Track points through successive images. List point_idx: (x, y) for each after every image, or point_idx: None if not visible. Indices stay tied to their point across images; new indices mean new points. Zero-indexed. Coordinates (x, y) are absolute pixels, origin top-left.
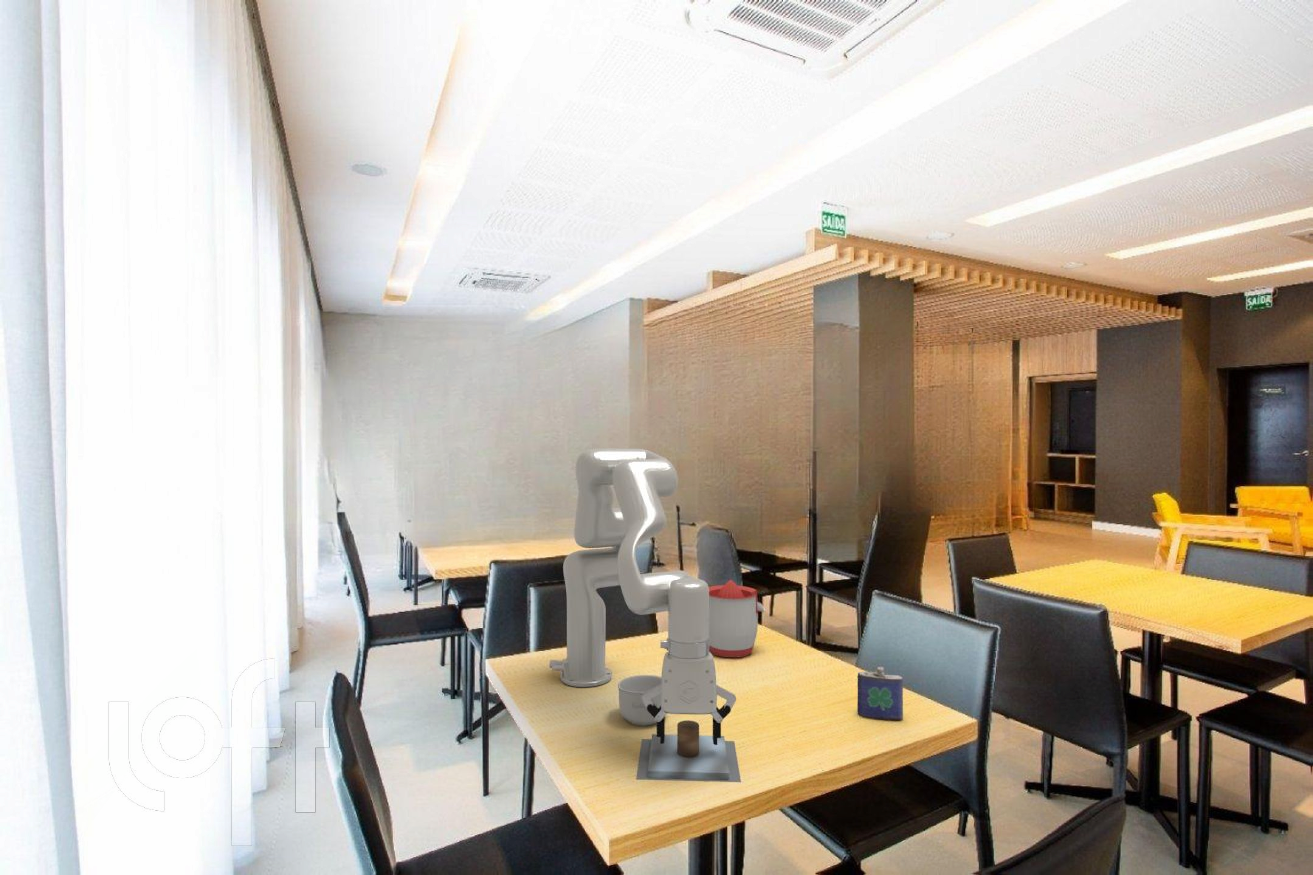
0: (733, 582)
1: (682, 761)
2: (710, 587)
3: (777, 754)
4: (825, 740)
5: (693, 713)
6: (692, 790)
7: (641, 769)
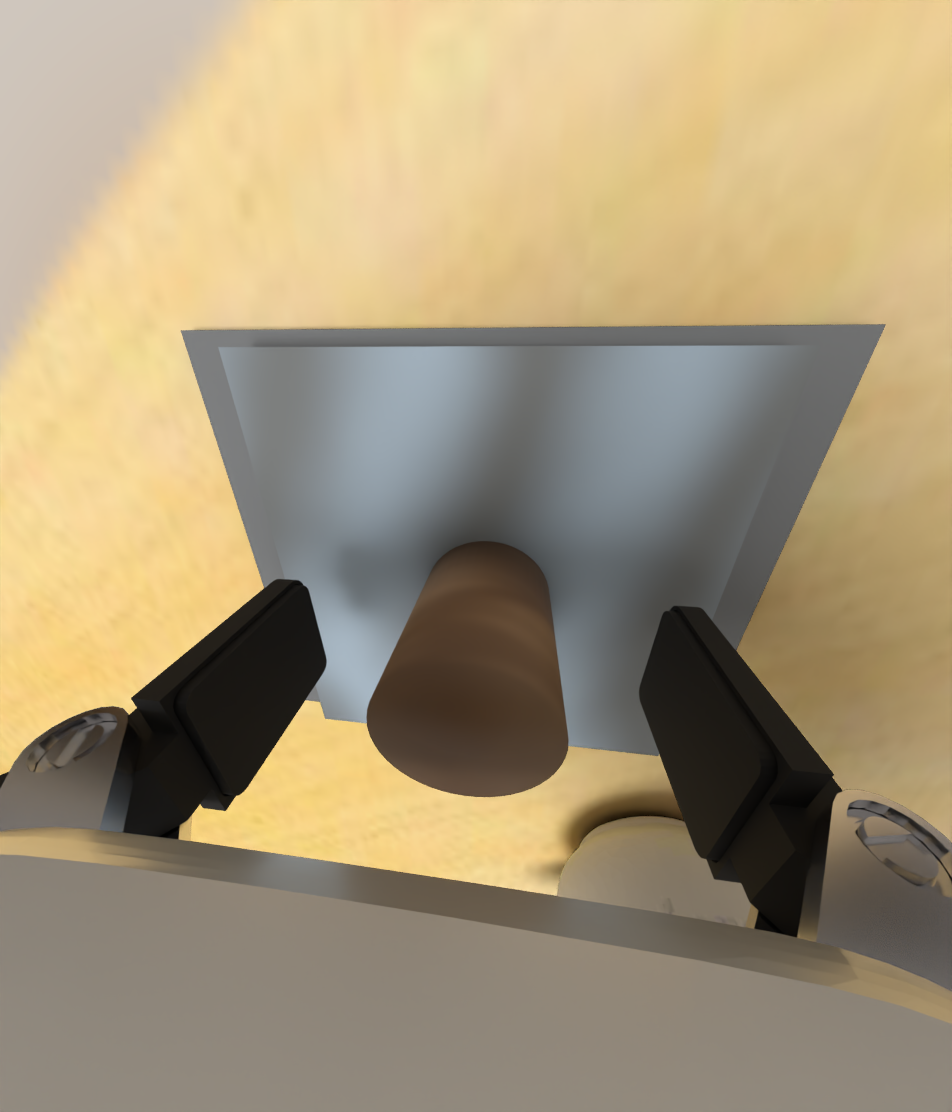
0: None
1: (526, 496)
2: None
3: (128, 612)
4: (18, 686)
5: (278, 882)
6: (473, 213)
7: (792, 466)
